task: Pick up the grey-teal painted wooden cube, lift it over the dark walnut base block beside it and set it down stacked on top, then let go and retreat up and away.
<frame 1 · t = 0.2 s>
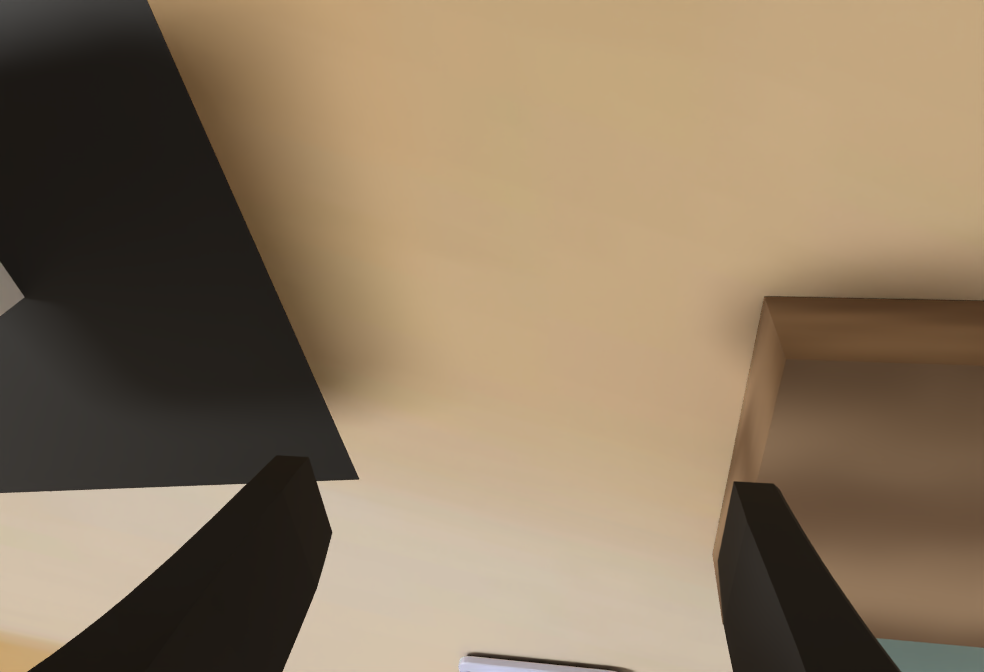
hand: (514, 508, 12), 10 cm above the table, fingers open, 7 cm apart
walnut base: (924, 454, 22), on the table
teal cube: (894, 640, 28), on the table
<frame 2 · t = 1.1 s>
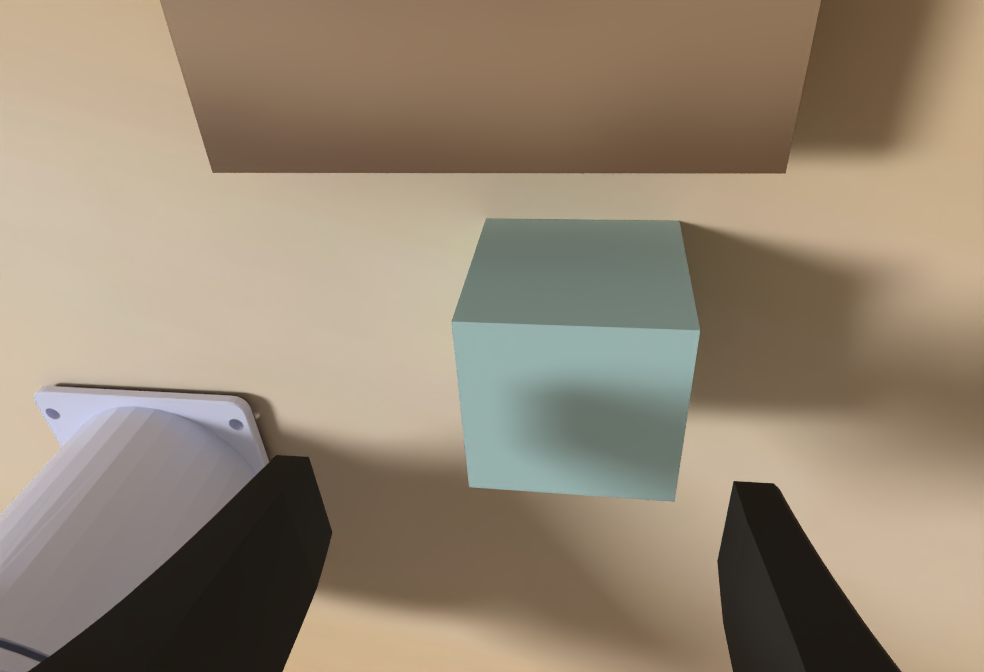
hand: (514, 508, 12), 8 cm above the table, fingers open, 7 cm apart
teal cube: (578, 299, 19), on the table
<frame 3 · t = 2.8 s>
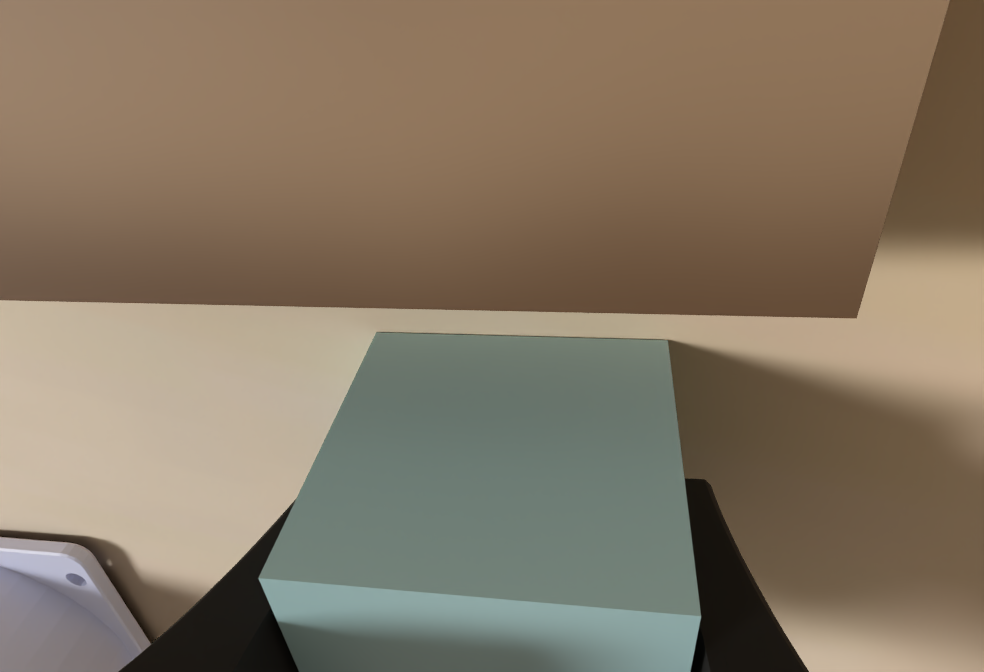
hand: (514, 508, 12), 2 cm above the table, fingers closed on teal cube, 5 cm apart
teal cube: (523, 442, 13), on the table, touching gripper
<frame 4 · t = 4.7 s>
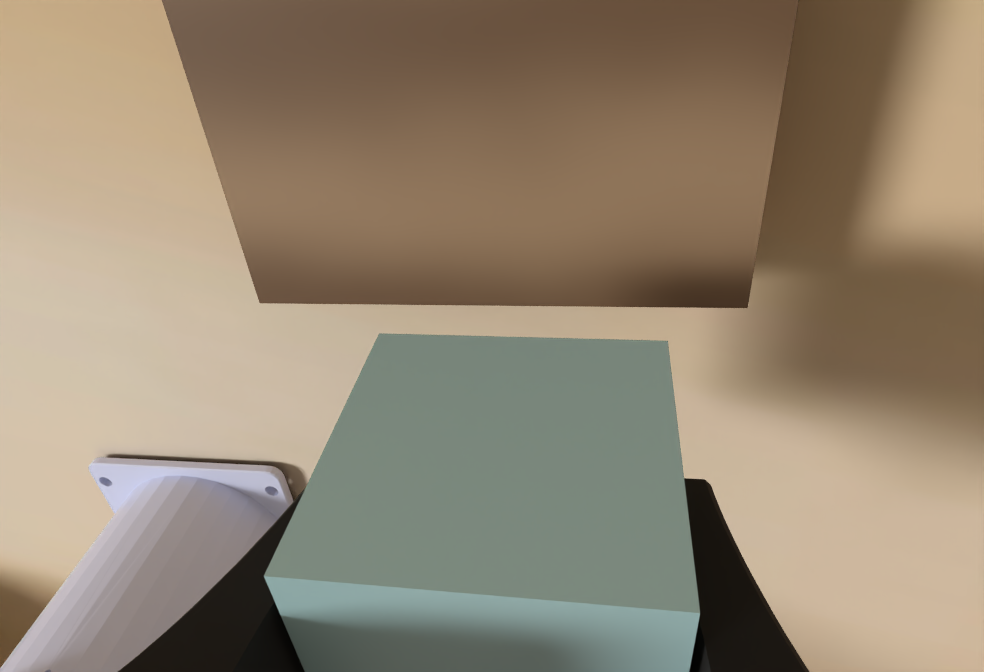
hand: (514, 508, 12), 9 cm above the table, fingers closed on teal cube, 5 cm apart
walnut base: (487, 13, 15), on the table
teal cube: (524, 442, 13), point 7 cm above the table, touching gripper
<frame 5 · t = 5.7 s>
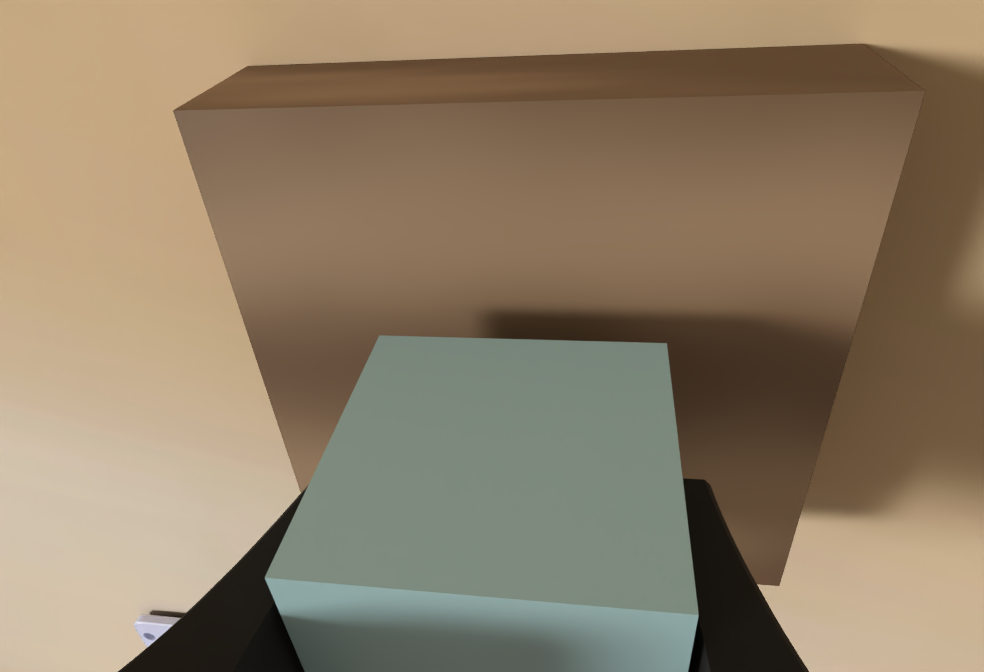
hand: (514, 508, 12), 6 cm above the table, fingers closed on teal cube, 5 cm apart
walnut base: (541, 312, 17), on the table
teal cube: (524, 443, 13), point 4 cm above the table, touching gripper
when the fingers open (6 cm above the table, at t = 6.7 s): teal cube stays where it is, resting on walnut base.
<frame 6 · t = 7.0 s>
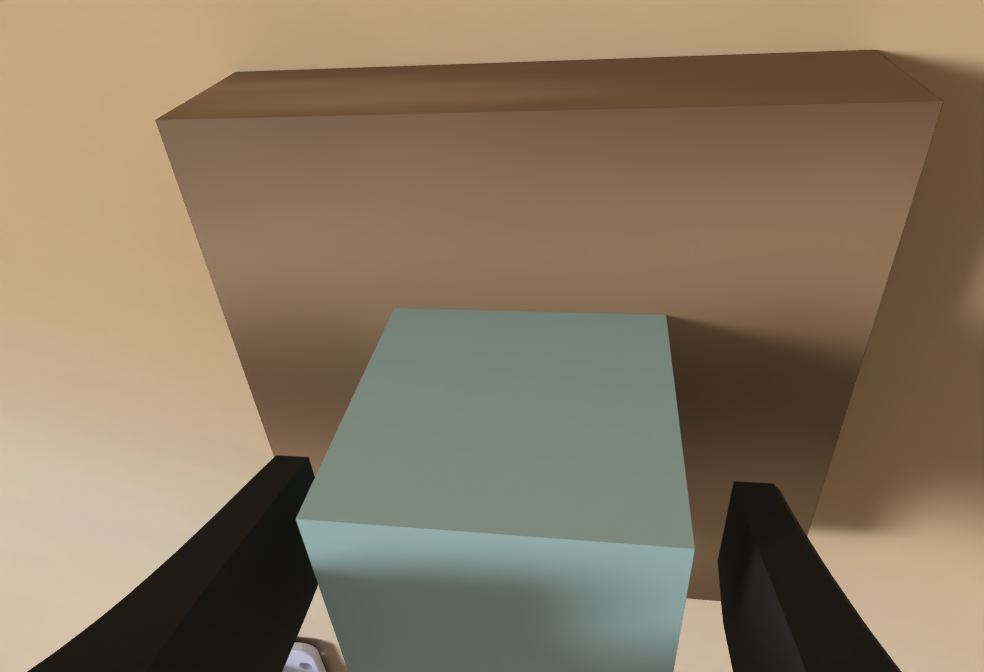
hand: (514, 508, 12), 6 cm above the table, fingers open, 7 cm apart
walnut base: (540, 324, 16), on the table
teal cube: (529, 413, 14), point 3 cm above the table, touching walnut base
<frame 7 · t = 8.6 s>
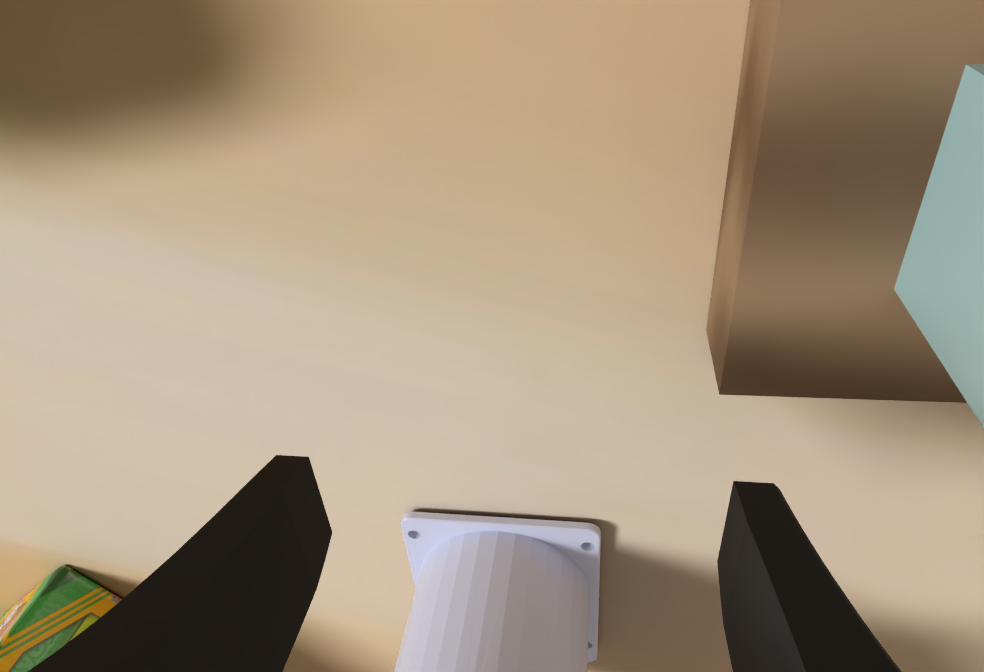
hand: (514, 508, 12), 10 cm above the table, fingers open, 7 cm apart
chalk box: (105, 625, 38), on the table
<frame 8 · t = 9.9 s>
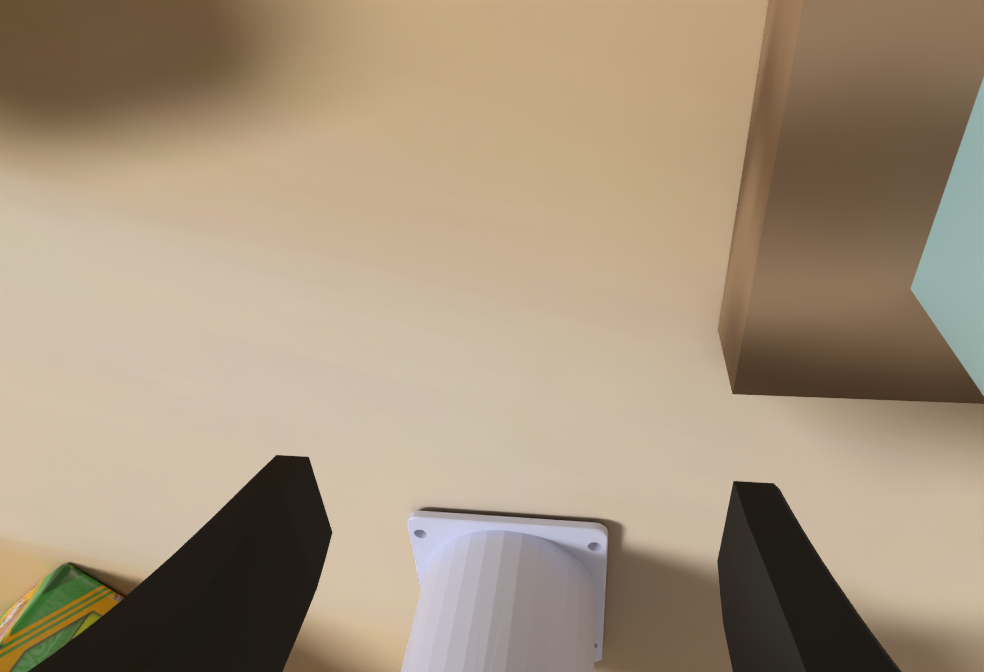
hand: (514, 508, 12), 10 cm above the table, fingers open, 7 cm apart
chalk box: (107, 624, 37), on the table
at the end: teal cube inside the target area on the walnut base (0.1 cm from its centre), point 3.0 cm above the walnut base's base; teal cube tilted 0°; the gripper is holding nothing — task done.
